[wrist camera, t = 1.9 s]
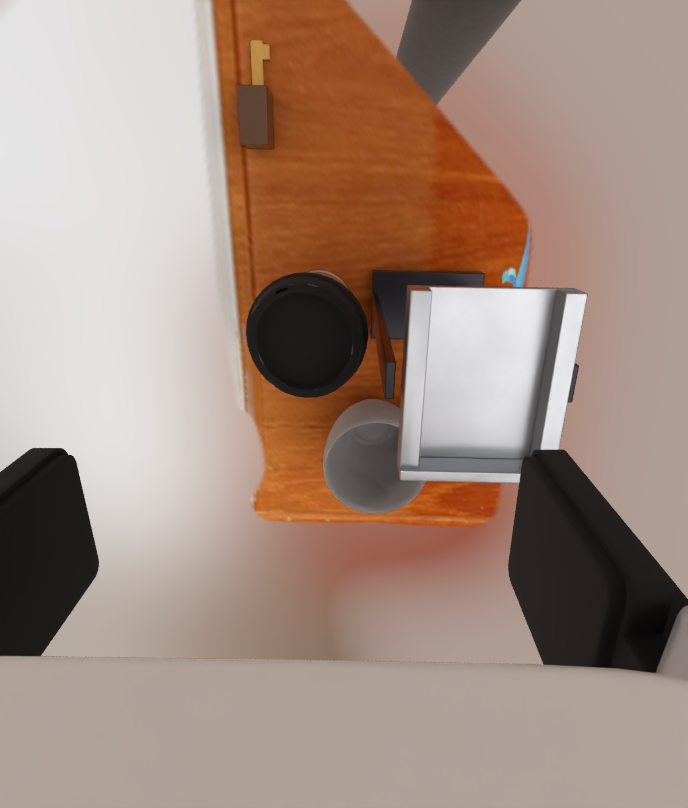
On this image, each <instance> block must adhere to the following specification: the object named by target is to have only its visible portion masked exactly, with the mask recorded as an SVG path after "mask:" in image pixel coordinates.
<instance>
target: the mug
mask: <svg viewBox="0 0 688 808" xmlns="http://www.w3.org/2000/svg"><path fill="white" fill-rule="evenodd" d="M399 416H400V408H399V407H397V406H396V405H394V404H392V403H390V402H387V401H384V400H379V399H365V400H362V401H360V402H357V403H355V404H353V405H351V406H350V407H348V408H347V409H346V410H345V411H344V412H343V413H342V414H341V415H340V416H339V417H338V419H337V420H336V421H335V423H334V425H333V427H332V429H331V431H330V433H329V436H328V438H327V442H326V445H325V450H324V456H323V472H324V478H325V481H326V484H327V486H328V488H329V489H330V491H331V492H332V494H333V495H334V496H335V497H336V498H337V499H338V500H339V501H340V502H341V503H343V504H344V505H346V506H348V507H350V508H352V509H354V510H357V511H360V512H365V513H385V512H390V511H393V510H396V509H399V508H401V507H403V506H404V505H406V504H408V503H409V502H410V501H412V500H413V499H414V498H415V497H416V496H417V495H418V493H419V492H420V491H421V489H422V488H423V486H424V484H425V481H401V480H400V478H399V472H398V466H397V450H398V433H399Z"/></svg>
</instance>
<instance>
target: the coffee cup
mask: <svg viewBox="0 0 688 808" xmlns="http://www.w3.org/2000/svg"><path fill="white" fill-rule="evenodd" d="M246 336H247V343H248V348H249V351H250V354H251V356H252V359H253V362H254V363H255V365H256V367H257V368H258V370H259V371H260V373H261V374H262V375H263V376H264V377H265V379H266V380H267V381H269V382H270V383H271V384H272V385H273V386H275V387H276V388H278V389H280V390H281V391H283V392H285V393H288V394H291V395H294V396H298V397H305V398H308V397H319V396H323V395H327V394H329V393H331V392H333V391H335V390H337V389H338V388H339V387H341V386H342V385H343V384H345V382H347V381H348V380H349V379H350V378H351V377H352V376H353V375H354V373H355V372H356V371H357V369H358V367H359V366H360V364H361V362H362V360H363V357H364V354H365V351H366V347H367V340H368V326H367V321H366V317H365V313H364V311H363V309H362V307H361V305H360V303H359V301H358V300H357V299H356V298H355V296H354V295H353V294H352V292H350V291H349V290H348V288H347V286H346V285H345V283H344V282H343V281H342V280H341V279H340V278H339V277H338V276H336V275H334V274H333V273H330V272H327V271H321V270H315V271H310V272H306V273H294V274H291V275H287V276H283V277H281V278H280V279H278V280H276V281H274V282H272V283H271V284H270V285H268V286H267V287H266V288H265V289H264V290H262V292H261V293H260V294H259V295H258V297H257V298H256V299H255V301H254V303H253V305H252V307H251V309H250V311H249V315H248V319H247V328H246Z"/></svg>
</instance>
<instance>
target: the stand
mask: <svg viewBox="0 0 688 808" xmlns="http://www.w3.org/2000/svg"><path fill="white" fill-rule="evenodd" d="M484 276H485V274H484V273H482V272H461V271H405V270H373V286H372V315H371V338H372V339H375V340H376V346H377V353H378V359H379V366H380V372H381V379H382V385H383V392H384V398H385V399H393V398H394V389H395V370H396V361H395V358H394V354H393V350H392V346H391V342H390V339H404V331H405V314H406V297H407V285H428V286H482V287H483V285H484ZM578 368H579V366H578V365H577V364H575V366H574V371H573V376H572V382H571V387H570V393H569V398H568V402H572V400H573V395H574V389H575V384H576V379H577V373H578Z"/></svg>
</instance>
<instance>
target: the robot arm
mask: <svg viewBox="0 0 688 808" xmlns="http://www.w3.org/2000/svg"><path fill="white" fill-rule="evenodd" d="M98 567H99V560H98V555H97V550H96V546H95V542H94V537H93V533H92V529H91V525H90V520H89V515H88V511H87V507H86V503H85V498H84V494H83V490H82V485H81V481H80V476H79V472H78V468H77V463H76V461H75V458H74V457H73V456H72V455H68V453H67V452H66V451H65V450H64V449H62V448H32V449H30V450H29V451H27V452H26V453H25V454H23V455H22V456H21V457H20V458H18V459H17V460H16V461H14V462H13V463H12V464H10V465H9V466H8V467H6V468H5V469H4V470H2V471H1V472H0V808H688V599H687V598H686V597H685V595H684V594H683V593H682V592H681V590H680V589H679V588H678V587H677V585H676V584H675V583H674V581H673V580H672V579H671V578H670V577H669V576H668V574H667V573H666V572H665V571H664V569H663V568H662V567H661V566H660V565H659V563H658V562H657V561H656V560H655V559H654V557H653V556H652V555H651V554H650V552H649V551H648V550H647V549H646V548H645V546H644V545H643V544H642V543H641V542H640V540H639V539H638V538H637V537H636V536H635V534H634V533H633V532H632V531H631V529H630V528H629V527H628V526H627V525H626V523H625V522H624V521H623V520H622V519H621V517H620V516H619V515H618V514H617V512H616V511H615V510H614V509H613V508H612V507H611V505H610V504H609V503H608V502H607V500H606V499H605V498H604V497H603V495H601V493H600V492H599V491H598V490H597V488H596V487H595V486H594V485H593V484H592V482H591V481H590V480H589V479H588V477H587V476H586V475H585V474H584V473H583V472H582V470H581V469H580V468H579V467H578V465H577V464H576V463H575V462H574V461H573V459H572V458H571V457H570V456H569V455H568V453H567V452H566V451H565V450H534V451H533V453H532V455H531V456H525V457H524V459H523V461H522V467H521V474H520V482H519V489H518V496H517V504H516V511H515V519H514V526H513V534H512V541H511V549H510V556H509V564H508V569H509V577H510V581H511V584H512V586H513V589H514V591H515V594H516V596H517V599H518V601H519V604H520V606H521V609H522V612H523V614H524V617H525V619H526V621H527V624H528V626H529V629H530V631H531V634H532V637H533V639H534V641H535V644H536V647H537V649H538V652H539V654H540V657H541V659H542V661H543V664H544V665H539V664H537V665H536V664H501V663H499V664H498V663H448V662H447V663H445V662H399V661H398V662H397V661H344V660H339V661H338V660H278V659H216V658H213V659H212V658H136V657H135V658H134V657H132V658H131V657H130V658H129V657H57V656H56V657H55V656H41V655H42V653H43V652H44V650H45V649H46V647H47V646H48V645H49V643H50V641H51V640H52V639H53V637H54V636H55V635H56V633H57V632H58V630H59V629H60V627H61V626H62V624H63V623H64V622H65V620H66V619H67V617H68V616H69V614H70V613H71V612H72V610H73V609H74V607H75V606H76V604H77V603H78V601H79V600H80V599H81V597H82V596H83V594H84V593H85V591H86V590H87V589H88V587H89V586H90V584H91V583H92V581H93V580H94V578H95V577H96V574H97V571H98Z"/></svg>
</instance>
